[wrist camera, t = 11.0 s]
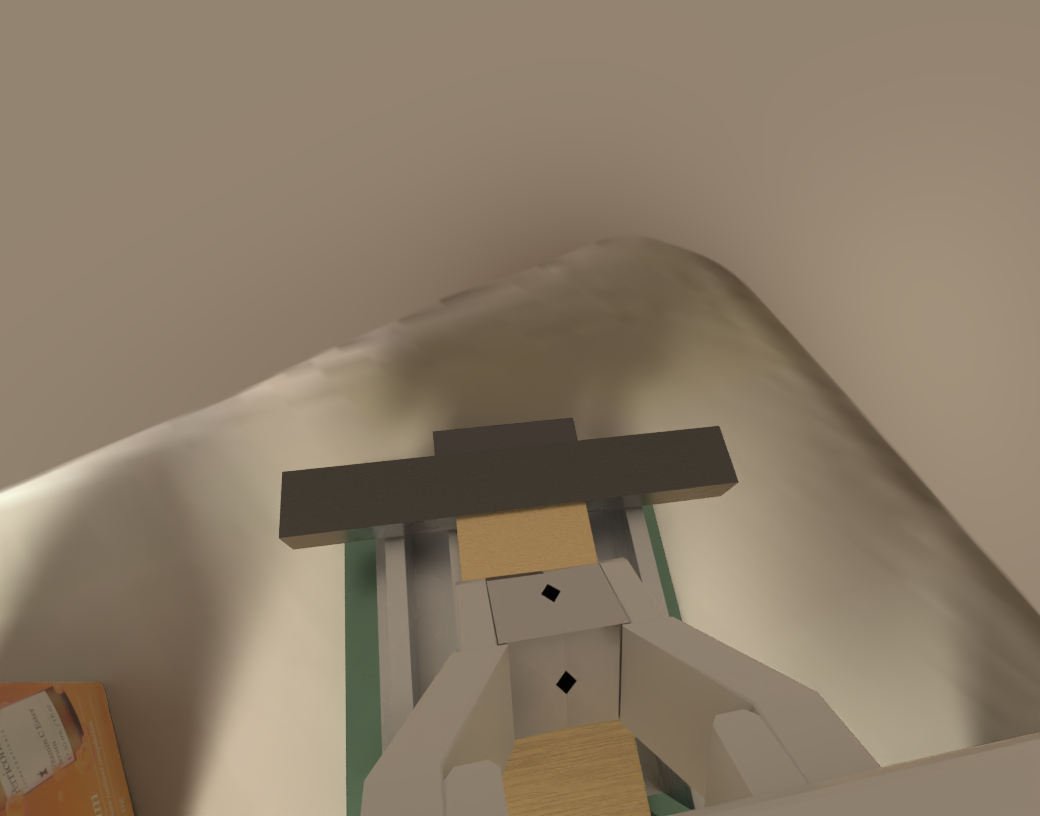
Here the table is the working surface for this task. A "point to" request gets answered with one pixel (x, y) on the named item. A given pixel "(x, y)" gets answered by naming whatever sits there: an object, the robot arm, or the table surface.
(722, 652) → the robot arm
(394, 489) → the lever
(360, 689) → the board
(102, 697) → the small box
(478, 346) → the table surface
